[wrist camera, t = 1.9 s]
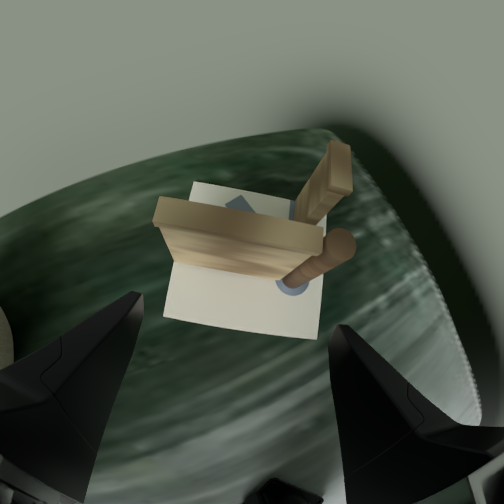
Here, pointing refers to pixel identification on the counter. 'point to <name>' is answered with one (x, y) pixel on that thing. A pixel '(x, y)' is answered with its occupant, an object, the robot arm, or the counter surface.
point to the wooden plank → (318, 205)
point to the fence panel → (235, 238)
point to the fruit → (5, 342)
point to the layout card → (244, 281)
